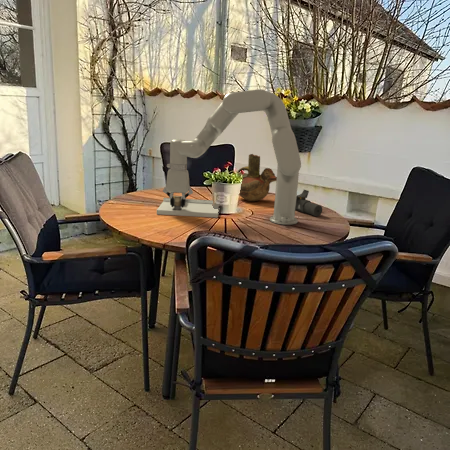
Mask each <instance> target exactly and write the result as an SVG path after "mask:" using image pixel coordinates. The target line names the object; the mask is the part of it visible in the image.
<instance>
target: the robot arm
mask: <svg viewBox="0 0 450 450" xmlns="http://www.w3.org/2000/svg"><path fill="white" fill-rule="evenodd" d="M252 112H264V114H266V117H267V121H268V124H269V128H270V132H271V143H272V147H273V151H274V154H275V155H274V156H275V159H276V163H277V167H276V168H277V169H276V177H277V181H275V182H276V183H275V195H274V196H275V197H274V205H273V215H272V216H270V217H269V221H270V222H271V223H273V224H274V223H275V224H279V225H283V226H284V225H286V226H292V225H296V224H297V223H298V221H299V220H298V218H297V217H295V216H296V215H295V214H296V210H295V207H296V197H297V194H298V188H299V176H300V170H301V167H302V162H301V161H302V160H301V157H300V152H299V147H298V144H297V143H298V142H297V139H296V136H295V133H294V131H293V129H292V127H291V123H290V119H289V114H288V112H287V109H286V106H285V103H284V102H283V100H282V99H281V98H280V97H279V96H278V95H277V94H276V93H273V92H270V91H268V90H266V89H261V88H259V89H251V90H244V91H243V90H242V91H231V92H227V94H225V95H224V97H223V99H222V101H221V102H220V104H219V105H218V107H217V108H215V110H214V111H213V112H212V113H211V115H209V117H208V118H207V120H206V123H205V125H204V126H203V128H202V129H201V131H200V132H199V133H198V134H197V135H196V137H195V138H194V139H193V140H188V141H187V140H185V139H181V138H180V139H179V138H178V139H176V138H175V139H171V140H170V144H169V147H170V148H169V163H167V164H166V167H167V168H168V171H167V175H166V182H165V183H166V185H165V187H163V189H162V192H163V193H164V194H166V195H167V196H168V198H170V205H171V207H173V206H174V197H173V196H174V194H176V193H177V194H181V196H182V200H181V207H182V208H183V207H184V206H185V198H186V199H187V197H189V196H191V195H192V194H193V193H194V191H193V189H192V188H191V186H190V176H189V175H190V174H189V170H187V165H188V158H191V159H192V158H193V159H198V158H199V157H201V156H202V155H203V154H205V153H206V152H207V150H208V149H209V148H210V147H211V146H212V145H213V143H214V142H215V141H216V140H217V139H218V137H219V136H221V134H222V133H224V131H225V130H226V128H227V127H228V126H229V125H230V124H231V123H232V122H233V121H234V119H235V118H236V117H237V116H238V115H239V114H243V113H244V114H245V113H252Z"/></svg>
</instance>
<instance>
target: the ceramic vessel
mask: <svg viewBox="0 0 450 450" xmlns="http://www.w3.org/2000/svg"><path fill="white" fill-rule="evenodd" d="M247 162H248V163H247V164H248V165H247V166H243V167H241V168H239V169H238V170H237V172H240V171H241V170H243V172H244V171H247V175H245V176H242V177H243V181H242V184H241V190H240V195H239V196H240V197H241V198H242V199H244V200H245V201H247V202H257V201H258V202H259V201H260V200H263V199H265V198H266V197H267V195H268V194H269V192H270V188H271V187H270V184H271V183H273V182H276V181H277V175H276V174H275V173H274V171H273V170H272V168H270V167H269V168H268V167H267V168H264V169H263V170H262V172H261V171H260V170H261V169H260V168H261V156H260V155H257V154H253V153H250V154H248V161H247ZM260 172H261V174H260Z"/></svg>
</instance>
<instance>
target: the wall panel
mask: <svg viewBox="0 0 450 450" xmlns="http://www.w3.org/2000/svg"><path fill="white" fill-rule="evenodd" d="M212 204H213V199H209V200H208V199H195V198H194V199H193V198H186V201H185V206H184V207H183V208H182V207H181V210H174V206H173V207H171V205H170V197H163V201H162V202H161V204H160V205H159V206H158V208H156V215H161V216H163V215H164V216H165V215H166V216H182V217H197V218H198V217H199V218H200V217H201V218H218V217H219V213H218V212H220V209H219V210H218V209H214V208H213V206H212Z"/></svg>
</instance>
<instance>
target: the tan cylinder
mask: <svg viewBox="0 0 450 450" xmlns="http://www.w3.org/2000/svg"><path fill="white" fill-rule="evenodd" d="M174 196H175V201H174V210H181V196H182V195H174Z"/></svg>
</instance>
